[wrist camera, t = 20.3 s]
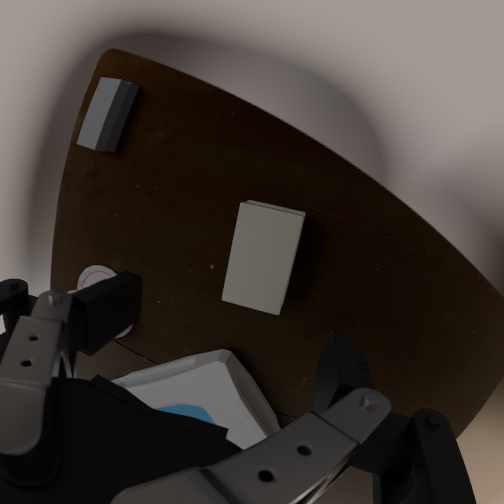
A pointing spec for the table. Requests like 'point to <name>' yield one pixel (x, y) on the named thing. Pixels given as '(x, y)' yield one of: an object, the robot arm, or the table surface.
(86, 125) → the gray block
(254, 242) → the light grey rectangular block
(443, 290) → the table surface
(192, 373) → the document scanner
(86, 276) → the teacup
